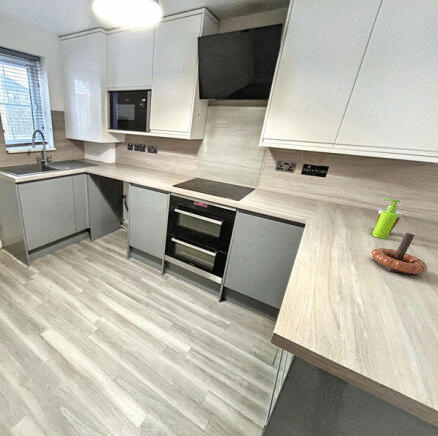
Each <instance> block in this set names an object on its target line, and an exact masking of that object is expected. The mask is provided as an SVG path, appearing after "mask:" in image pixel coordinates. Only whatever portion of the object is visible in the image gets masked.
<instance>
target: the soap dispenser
mask: <svg viewBox="0 0 438 436" xmlns="http://www.w3.org/2000/svg"><path fill="white" fill-rule="evenodd" d="M384 200H385V201H387V202H388V201H389V202H390V201H391V204H389V205H388V206H387V207H386V209H387V210H386V211H382V213H381V215H380V217H379V219H378V222H377V224H376V223H375V225H376V226H375V225H374V229H373V231H372V233H371V236H373V237H375V238H379V239H383V240H386V239H388V237H389V235H390V234H391V232H392V231H391V229H392V227H393V224H394V222H395V220H396V218H397V216H398V214H396V213H395V212H396V211H398V206H397V204H398V203H401V200H399V199H395V198H384ZM390 231H391V232H390ZM389 233H390V234H389Z"/></svg>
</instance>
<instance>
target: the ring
mask: <svg viewBox="0 0 438 436" xmlns="http://www.w3.org/2000/svg"><path fill="white" fill-rule="evenodd" d="M397 250H398V249H393V248H385V247H380V248H374V249H373V250H372V251H371V256H372V258H374V259H375V260H376V261H378V262H379V263H381V264H383V265H385V266H387V267H390V268H392V269H395V270H399V271H402V272H406V273H414V274H417V275H419V274H423V273H426V272H427V271H428V265H427V263H426V262H425V261H424V260H422V259H420V258H418V257H417V256H415V255H412V254H409V253H407V252H406V253H405V255H404V257H403V259H402V261H399V260H396V259H393V257H394V255H395V253H396V252H397ZM376 261H375V262H376ZM379 263H378V264H379ZM406 273H405V274H406Z"/></svg>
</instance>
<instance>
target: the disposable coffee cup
mask: <svg viewBox="0 0 438 436" xmlns="http://www.w3.org/2000/svg"><path fill="white" fill-rule="evenodd" d="M386 210H387V208H380V209H379V210H378V211H377V212H378V214H377V218H376V221H375V225H374V227H375V226H376V224H377V222H378V219H379V217H380V215H381V213H382V211H386ZM395 213H396V214H398V216H397V218H396V220H395V222H394V224H393V227H392V229H391V231H390V233H389V235H390V234H391V232H392V231H393V230H394V229H395V227H396V225H397V224H398V222H399V221H400V219H401V218H403V217H404V216H403V212H401V211H399V210H396V212H395Z"/></svg>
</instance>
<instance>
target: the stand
mask: <svg viewBox="0 0 438 436" xmlns="http://www.w3.org/2000/svg"><path fill="white" fill-rule="evenodd" d="M415 236H416V234H415V233H412V232H405V234H404V236H403V237H402V240H401V242H400V243H399V245H398V248H397V249H396V250H397V252H396V253H395V255H394V257H393V259H396V260H399V261H402V259H403V257H404V255H405V253H407V252H408V250H409V248H410V245H411V244H412V242H413V240H414V238H415ZM372 258H373V257H372ZM372 260H373V261H374V262H375V263H377V264H378V265H380V266H381V267H383V268H384V269H386V270H387V271H388V272H392V273H400V274H406V275H413V276H417V275H418V274H414V273H406V272H402V271H399V270H395V269H392V268H390V267H387V266H385V265H383V264H381V263H379V262H378V261H376V260H375V259H374V258H373V259H372Z"/></svg>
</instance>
